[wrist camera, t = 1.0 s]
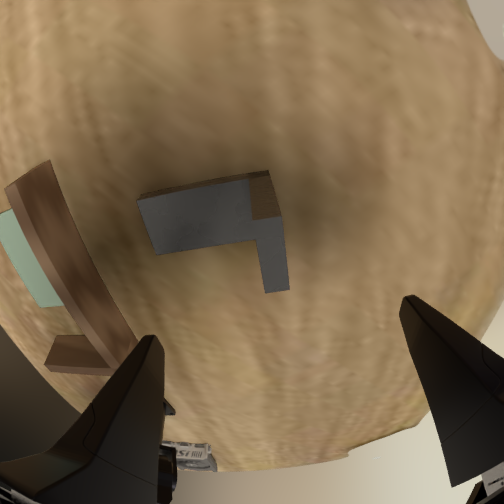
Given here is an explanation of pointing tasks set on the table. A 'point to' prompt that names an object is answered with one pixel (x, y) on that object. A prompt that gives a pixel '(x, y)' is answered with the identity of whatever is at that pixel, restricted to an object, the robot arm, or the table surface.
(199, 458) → the graphics card
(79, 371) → the corner walls
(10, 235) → the mat
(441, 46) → the table surface
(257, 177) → the angle bracket
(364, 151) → the table surface
